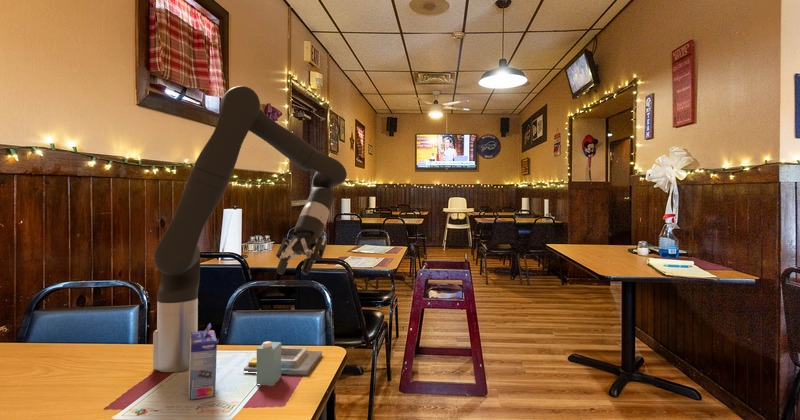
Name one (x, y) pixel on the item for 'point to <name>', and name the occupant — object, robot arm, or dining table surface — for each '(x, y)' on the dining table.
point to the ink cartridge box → (202, 364)
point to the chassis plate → (292, 361)
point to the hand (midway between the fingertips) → (291, 273)
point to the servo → (268, 363)
